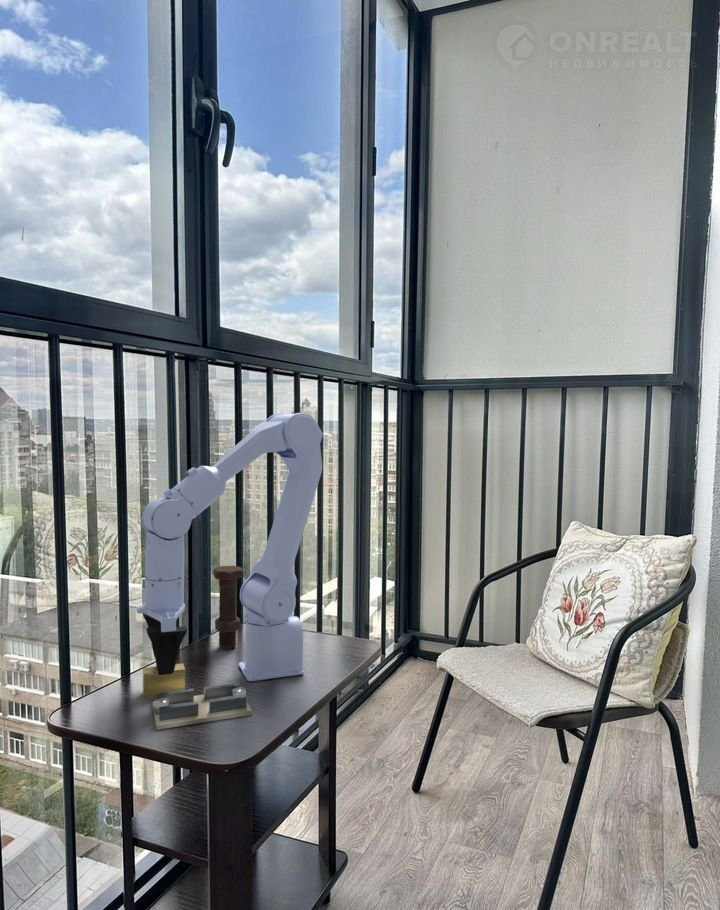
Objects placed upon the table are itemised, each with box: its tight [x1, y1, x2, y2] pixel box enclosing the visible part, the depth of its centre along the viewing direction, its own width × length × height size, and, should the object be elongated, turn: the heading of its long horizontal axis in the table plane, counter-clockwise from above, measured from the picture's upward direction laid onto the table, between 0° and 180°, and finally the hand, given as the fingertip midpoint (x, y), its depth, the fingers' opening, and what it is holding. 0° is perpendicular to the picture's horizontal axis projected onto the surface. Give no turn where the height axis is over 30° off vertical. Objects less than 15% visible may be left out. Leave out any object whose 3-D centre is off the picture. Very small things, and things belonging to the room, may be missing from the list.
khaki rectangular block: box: [142, 663, 186, 701], centre depth 96 cm, size 6×3×4 cm, turn 112°
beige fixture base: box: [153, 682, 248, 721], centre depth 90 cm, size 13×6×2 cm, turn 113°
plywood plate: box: [151, 694, 253, 730], centre depth 90 cm, size 13×8×1 cm, turn 112°
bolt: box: [213, 565, 244, 651], centre depth 117 cm, size 6×5×15 cm
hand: (163, 664), depth 95 cm, fingers open, 7 cm apart
